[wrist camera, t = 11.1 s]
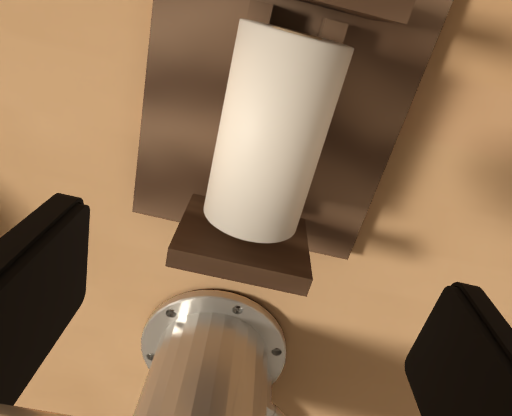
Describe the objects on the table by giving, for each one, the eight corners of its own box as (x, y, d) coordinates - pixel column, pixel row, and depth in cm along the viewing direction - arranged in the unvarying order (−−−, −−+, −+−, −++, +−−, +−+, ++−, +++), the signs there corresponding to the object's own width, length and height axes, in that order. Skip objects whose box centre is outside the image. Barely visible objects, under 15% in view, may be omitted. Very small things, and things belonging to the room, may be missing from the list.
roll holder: (345, 250, 30) (366, 328, 23) (137, 204, 29) (91, 269, 22) (449, -12, 22) (534, -21, 15) (168, -88, 21) (111, -137, 14)
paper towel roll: (292, 205, 26) (300, 252, 21) (209, 187, 25) (197, 231, 20) (342, 41, 21) (367, 53, 16) (242, 15, 21) (236, 20, 16)
